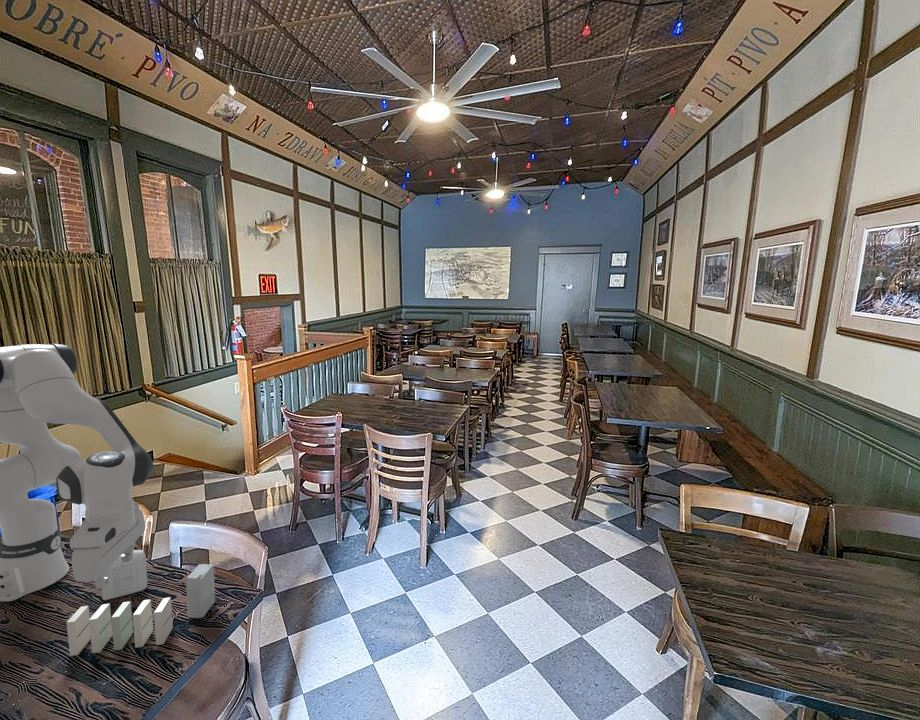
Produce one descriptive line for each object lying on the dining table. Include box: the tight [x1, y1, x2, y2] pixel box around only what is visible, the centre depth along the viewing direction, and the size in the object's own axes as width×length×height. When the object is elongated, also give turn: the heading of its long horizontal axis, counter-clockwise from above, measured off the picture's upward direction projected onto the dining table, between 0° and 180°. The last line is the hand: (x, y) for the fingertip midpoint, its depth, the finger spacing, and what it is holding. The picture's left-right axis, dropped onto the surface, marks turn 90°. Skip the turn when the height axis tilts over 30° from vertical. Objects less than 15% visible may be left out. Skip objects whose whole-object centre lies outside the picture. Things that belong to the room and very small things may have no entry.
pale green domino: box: [111, 600, 134, 651], centre depth 101 cm, size 2×5×9 cm, turn 13°
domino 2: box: [89, 603, 113, 654], centre depth 100 cm, size 2×5×9 cm, turn 13°
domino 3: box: [132, 599, 154, 649], centre depth 102 cm, size 2×5×9 cm, turn 13°
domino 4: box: [153, 596, 174, 646], centre depth 103 cm, size 2×5×9 cm, turn 13°
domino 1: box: [66, 605, 91, 657], centre depth 99 cm, size 2×5×9 cm, turn 13°
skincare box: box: [185, 563, 216, 619], centre depth 111 cm, size 6×4×12 cm
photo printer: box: [100, 549, 148, 601], centre depth 117 cm, size 10×4×12 cm, turn 123°
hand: (115, 572), depth 99 cm, fingers open, 8 cm apart
